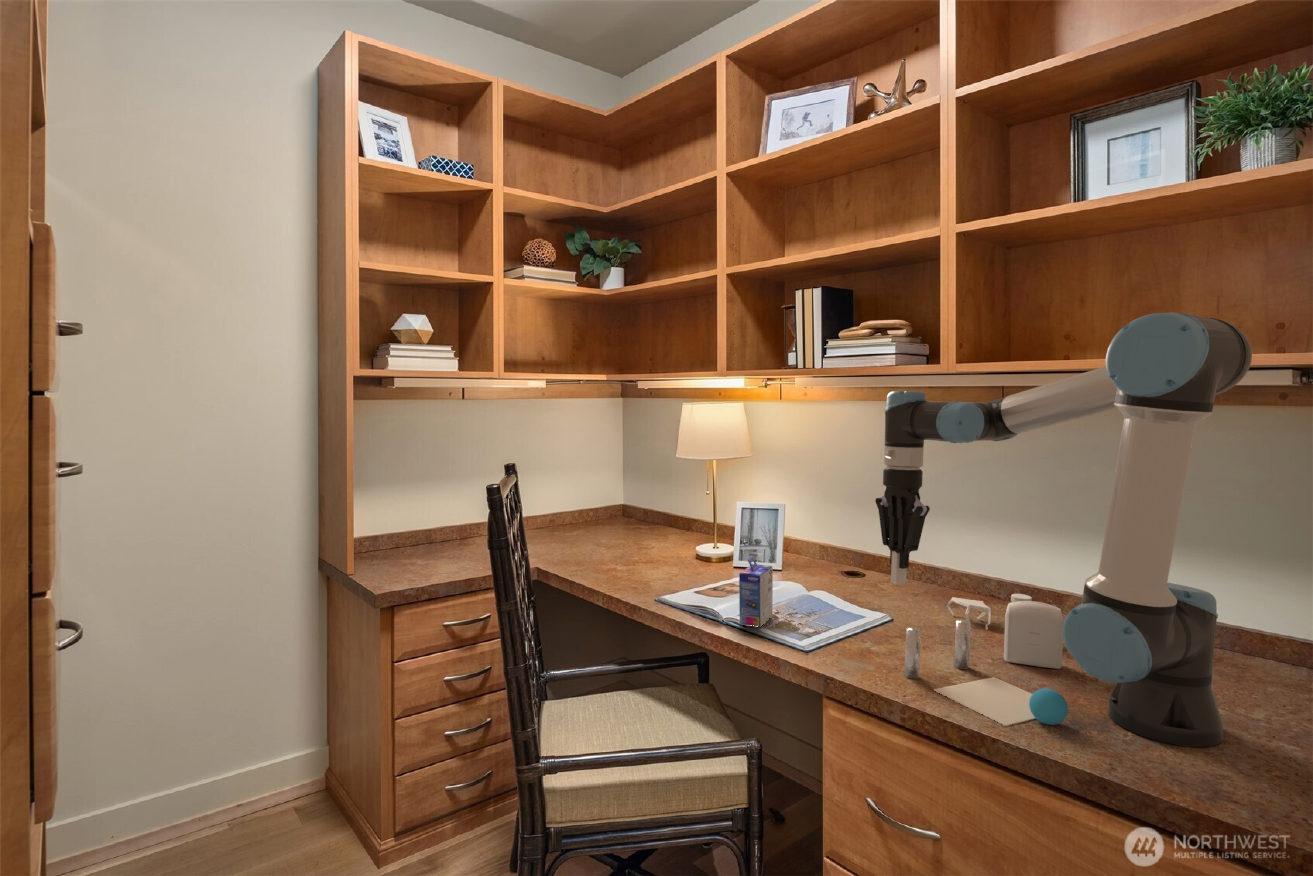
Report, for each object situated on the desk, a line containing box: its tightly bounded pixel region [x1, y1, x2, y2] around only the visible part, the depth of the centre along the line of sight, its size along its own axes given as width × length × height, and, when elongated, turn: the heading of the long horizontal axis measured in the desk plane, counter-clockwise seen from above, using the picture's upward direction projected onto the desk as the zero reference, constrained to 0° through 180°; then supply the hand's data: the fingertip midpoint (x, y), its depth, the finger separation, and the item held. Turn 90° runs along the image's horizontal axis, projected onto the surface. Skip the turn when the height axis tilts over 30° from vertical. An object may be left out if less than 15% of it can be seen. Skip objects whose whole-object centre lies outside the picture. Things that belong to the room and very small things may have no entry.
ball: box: [1029, 688, 1069, 726], centre depth 116 cm, size 6×6×6 cm
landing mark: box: [933, 676, 1070, 727], centre depth 125 cm, size 15×15×1 cm
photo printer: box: [1003, 601, 1065, 670], centre depth 142 cm, size 10×4×12 cm, turn 66°
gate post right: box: [953, 618, 971, 670], centre depth 140 cm, size 3×3×9 cm
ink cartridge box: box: [738, 556, 774, 628], centre depth 166 cm, size 10×6×14 cm, turn 155°
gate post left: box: [904, 626, 922, 680], centre depth 135 cm, size 3×3×9 cm
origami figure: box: [946, 596, 992, 630], centre depth 169 cm, size 12×8×5 cm
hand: (898, 582), depth 146 cm, fingers closed
